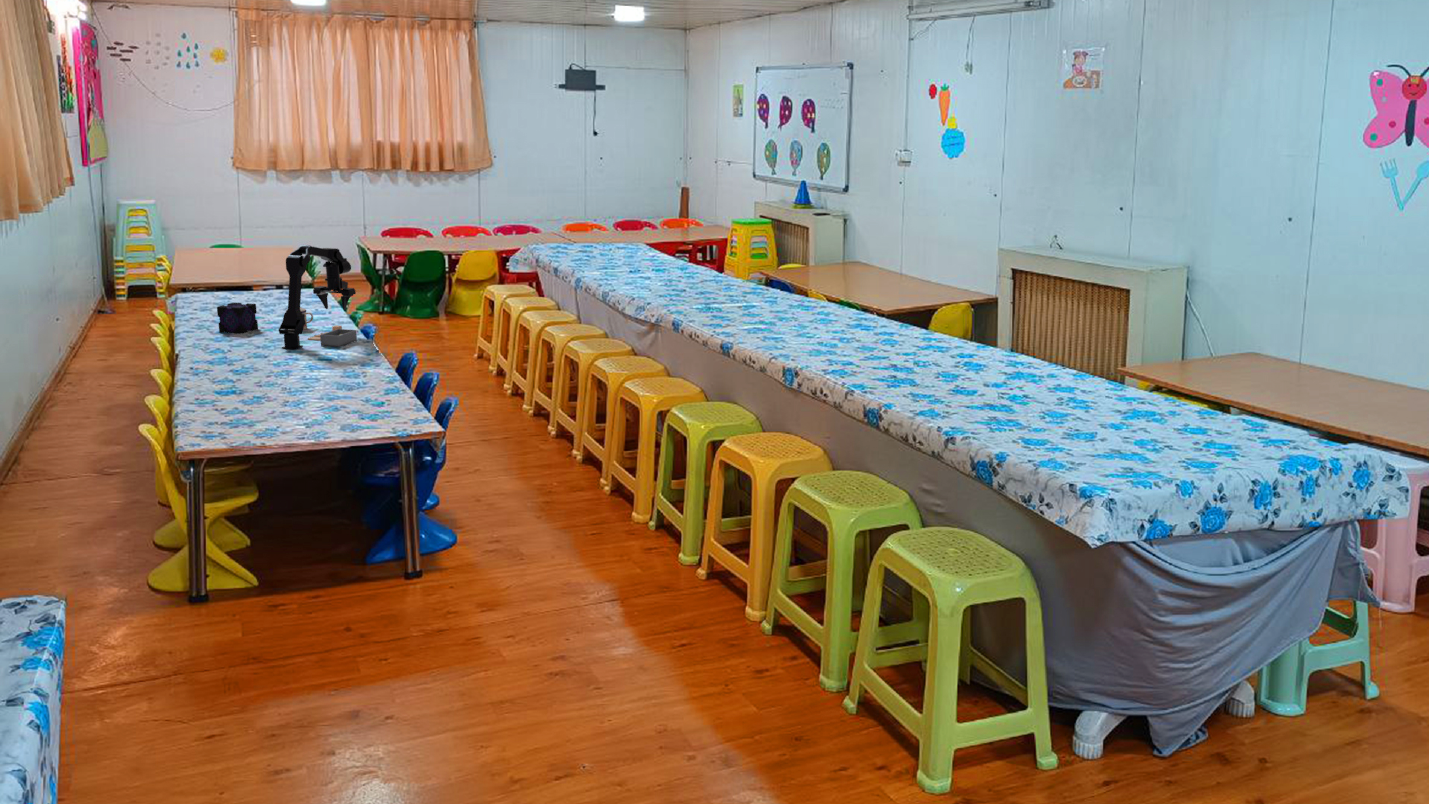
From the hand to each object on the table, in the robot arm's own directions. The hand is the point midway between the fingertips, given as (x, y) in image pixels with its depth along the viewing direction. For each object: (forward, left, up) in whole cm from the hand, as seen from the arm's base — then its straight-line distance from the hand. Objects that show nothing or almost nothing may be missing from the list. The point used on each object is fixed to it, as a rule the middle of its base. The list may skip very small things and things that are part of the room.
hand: (335, 309), depth 526 cm
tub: (-19, -13, -11) cm, 25 cm away
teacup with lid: (+5, +23, -12) cm, 26 cm away
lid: (-7, 0, -11) cm, 13 cm away
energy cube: (-8, +47, -12) cm, 49 cm away
